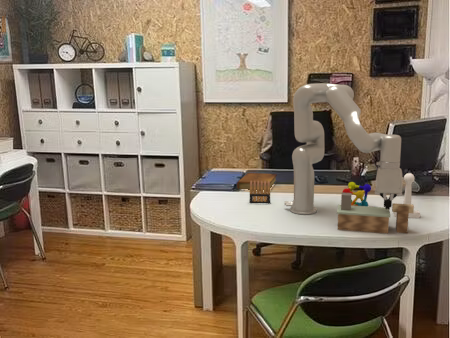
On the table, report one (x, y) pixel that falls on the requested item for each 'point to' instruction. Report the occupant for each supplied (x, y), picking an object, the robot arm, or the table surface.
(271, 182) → the diary
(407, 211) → the brown wooden open box
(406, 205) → the key
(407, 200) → the joystick
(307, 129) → the robot arm
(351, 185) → the molecular model
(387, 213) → the lid
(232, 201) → the table surface
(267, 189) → the ammunition clip
